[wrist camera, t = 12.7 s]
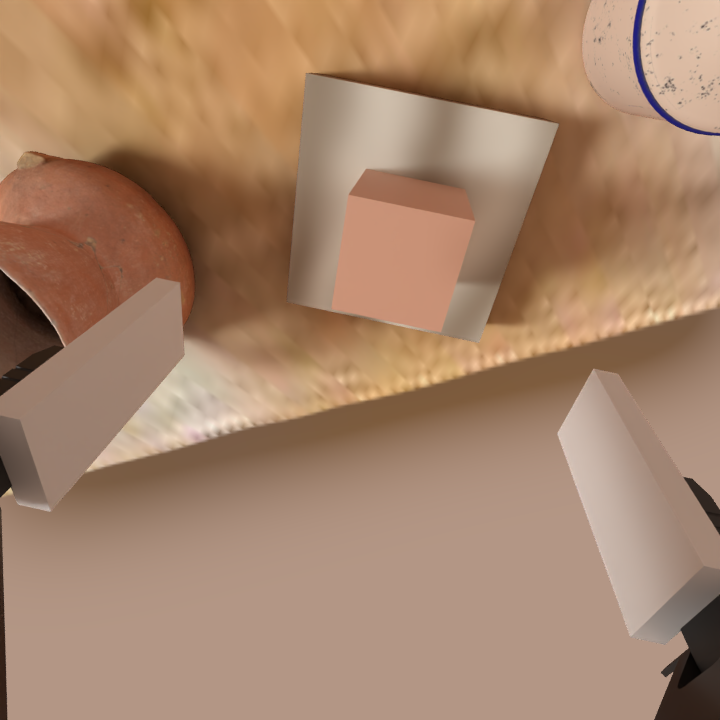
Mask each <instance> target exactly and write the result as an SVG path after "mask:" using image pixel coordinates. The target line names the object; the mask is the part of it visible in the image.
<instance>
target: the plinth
mask: <svg viewBox="0 0 720 720" xmlns="http://www.w3.org/2000/svg"><path fill="white" fill-rule="evenodd" d="M558 126H559V124H558V123H555V122H552V121H550V120H547V119H542V118H537V117H532V116H527V115H522V114H517V113H512V112H507V111H502V110H497V109H492V108H487V107H482V106H477V105H472V104H467V103H462V102H457V101H452V100H447V99H442V98H437V97H433V96H428V95H423V94H418V93H413V92H408V91H403V90H398V89H393V88H388V87H383V86H378V85H373V84H368V83H363V82H358V81H353V80H348V79H343V78H338V77H333V76H328V75H323V74H318V73H306V80H305V91H304V103H303V115H302V127H301V138H300V150H299V162H298V173H297V185H296V197H295V209H294V220H293V232H292V244H291V256H290V267H289V279H288V291H287V302H288V303H293V304H298V305H302V306H307V307H312V308H317V309H321V310H326V311H331V312H336V313H340V314H345V315H350V316H354V317H359V318H364V319H369V320H373V321H378V322H383V323H388V324H392V325H397V326H402V327H407V328H411V329H416V330H421V331H425V332H430V333H435V334H440V335H444V336H449V337H454V338H459V339H463V340H468V341H473V342H477V343H479V342H480V339H481V336H482V333H483V331H484V328H485V325H486V322H487V320H488V317H489V314H490V312H491V309H492V306H493V303H494V301H495V298H496V295H497V292H498V290H499V287H500V284H501V281H502V279H503V276H504V273H505V271H506V268H507V265H508V262H509V260H510V257H511V254H512V251H513V249H514V246H515V243H516V240H517V238H518V235H519V232H520V230H521V227H522V224H523V221H524V219H525V216H526V213H527V210H528V208H529V205H530V202H531V200H532V197H533V194H534V191H535V189H536V186H537V183H538V180H539V178H540V175H541V172H542V169H543V167H544V164H545V161H546V159H547V156H548V153H549V150H550V148H551V145H552V142H553V139H554V137H555V134H556V131H557V128H558ZM366 169H370V170H375V171H379V172H384V173H389V174H394V175H399V176H404V177H408V178H413V179H418V180H423V181H428V182H433V183H437V184H442V185H447V186H452V187H457V188H461V189H465V190H466V193H467V196H468V199H469V203H470V206H471V209H472V212H473V215H474V218H475V224H474V227H473V231H472V234H471V237H470V240H469V244H468V247H467V250H466V253H465V257H464V260H463V263H462V266H461V269H460V273H459V276H458V279H457V282H456V286H455V289H454V292H453V295H452V299H451V302H450V305H449V308H448V312H447V315H446V318H445V321H444V324H443V328H442V331H441V332H437V331H432V330H427V329H422V328H418V327H413V326H408V325H404V324H399V323H394V322H390V321H385V320H380V319H376V318H371V317H366V316H361V315H357V314H352V313H347V312H343V311H338V310H333V309H331V308H332V301H333V294H334V288H335V281H336V274H337V268H338V261H339V254H340V248H341V241H342V234H343V227H344V221H345V214H346V207H347V201H348V195H349V193H350V192H351V190H352V189H353V187H354V186H355V184H356V183H357V181H358V180H359V178H360V177H361V176H362V174H363V173H364V171H365V170H366Z"/></svg>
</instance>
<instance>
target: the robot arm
mask: <svg viewBox="0 0 720 720" xmlns="http://www.w3.org/2000/svg"><path fill="white" fill-rule="evenodd" d="M184 355H185V354H184V338H183V322H182V305H181V289H180V282H175V281H170V280H165V279H161V278H155V279H154V280H153V281H151V282H150V283H149V284H147V285H146V286H145V287H143V288H142V289H141V290H139V291H138V292H137V293H135V294H134V295H133V296H132V297H130V298H129V299H128V300H126V301H125V302H124V303H122V304H121V305H120V306H118V307H117V308H116V309H114V310H113V311H112V312H110V313H109V314H108V315H107V316H105V317H104V318H103V319H101V320H100V321H99V322H97V323H96V324H95V325H93V326H92V327H91V328H89V329H88V330H87V331H86V332H84V333H83V334H82V335H80V336H79V337H78V338H76V339H75V340H74V341H72V342H71V343H70V344H68V345H67V346H66V347H60V346H55V345H54V346H52V347H49V348H47V349H44V350H42V351H39V352H37V353H34V354H32V355H31V356H29V357H28V358H26V359H25V360H24V361H22V362H21V363H19V364H18V365H17V366H16V368H15V369H13V368H12V369H11V370H10V371H8V372H7V373H6V374H4V375H3V376H2V378H1V379H0V497H1V496H2V495H3V494H4V493H5V492H6V491H7V490H8V489H9V488H10V487H11V489H12V491H13V494H14V496H15V499H16V501H17V504H18V505H23V506H27V507H32V508H37V509H41V510H46V511H52V510H53V509H54V507H55V506H56V505H57V504H58V503H59V502H60V500H61V499H62V498H63V497H64V496H65V494H66V493H67V492H68V491H69V490H70V488H72V486H73V485H74V484H75V483H76V482H77V481H78V479H79V478H80V477H81V476H82V475H83V473H84V472H85V471H86V470H87V469H88V468H89V466H90V465H91V464H92V463H93V462H94V461H95V459H96V458H97V457H98V456H99V455H100V454H101V452H102V451H103V450H104V449H105V448H106V447H107V445H108V444H109V443H110V442H111V441H112V440H113V438H114V437H115V436H116V435H117V434H118V433H119V431H120V430H121V429H122V428H123V427H124V425H125V424H126V423H127V422H128V421H129V420H130V418H131V417H132V416H133V415H134V414H135V413H136V411H137V410H138V409H139V408H140V407H141V406H142V404H143V403H144V402H145V401H146V400H147V399H148V397H149V396H150V395H151V394H152V393H153V392H154V390H155V389H156V388H157V387H158V386H159V385H160V383H161V382H162V381H163V380H164V379H165V378H166V376H167V375H168V374H169V373H170V372H171V370H172V369H173V368H174V367H175V366H176V365H177V363H178V362H179V361H180V360H181V359H182V358H183V356H184ZM557 434H558V437H559V440H560V443H561V445H562V448H563V451H564V454H565V456H566V459H567V462H568V465H569V468H570V470H571V473H572V476H573V479H574V482H575V484H576V487H577V490H578V493H579V495H580V498H581V501H582V504H583V507H584V509H585V512H586V515H587V518H588V521H589V523H590V526H591V529H592V532H593V534H594V537H595V540H596V543H597V546H598V548H599V551H600V554H601V557H602V559H603V562H604V565H605V568H606V571H607V573H608V576H609V579H610V581H611V584H612V587H613V590H614V593H615V596H616V598H617V601H618V604H619V607H620V609H621V612H622V615H623V618H624V621H625V623H626V626H627V629H628V632H629V634H630V637H632V638H637V639H641V640H646V641H651V642H655V643H660V644H664V645H665V644H666V643H667V642H668V641H670V640H671V639H672V638H673V637H674V636H675V635H677V634H678V633H679V632H680V631H682V634H683V636H684V638H685V640H686V642H687V645H688V647H689V648H688V649H687V650H686V651H685V652H684V653H682V654H681V655H680V656H679V657H678V658H676V659H675V660H674V661H673V662H672V663H670V664H669V665H668V666H667V667H666V668H665V669H664V670H663V671H662V672H661V673H662V674H663V675H664V676H665V677H667V676H668V675H669V674H670V673H672V672H673V675H672V677H671V680H670V682H669V685H668V687H667V690H666V692H665V695H664V697H663V699H662V702H661V705H660V707H659V709H658V712H657V714H656V717H655V719H654V720H720V509H719V508H718V506H717V505H716V503H715V502H714V500H713V499H712V497H711V496H710V495H709V494H708V493H707V492H706V491H705V490H704V489H702V488H701V487H700V486H699V485H698V484H697V483H696V482H695V481H694V480H693V479H690V478H686V477H683V476H682V475H681V473H680V471H679V470H678V468H677V467H676V465H675V464H674V462H673V460H672V459H671V457H670V456H669V454H668V453H667V451H666V449H665V448H664V446H663V445H662V443H661V441H660V440H659V438H658V437H657V435H656V434H655V432H654V430H653V429H652V427H651V425H650V424H649V422H648V421H647V419H646V418H645V416H644V415H643V413H642V411H641V410H640V408H639V407H638V405H637V403H636V402H635V400H634V399H633V397H632V395H631V394H630V392H629V391H628V389H627V387H626V386H625V384H624V383H623V381H622V380H621V378H620V376H619V375H618V374H616V373H611V372H606V371H601V370H597V369H593V370H592V372H591V374H590V376H589V378H588V379H587V381H586V383H585V385H584V387H583V388H582V390H581V392H580V394H579V396H578V398H577V399H576V401H575V403H574V405H573V406H572V408H571V410H570V412H569V414H568V415H567V417H566V419H565V421H564V423H563V424H562V426H561V428H560V430H559V432H558V433H557ZM1 522H2V521H1V508H0V720H7V692H6V655H5V627H4V626H5V623H4V592H3V591H4V588H3V556H2V555H3V554H2V523H1Z"/></svg>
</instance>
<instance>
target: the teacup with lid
mask: <svg viewBox="0 0 720 720" xmlns="http://www.w3.org/2000/svg"><path fill="white" fill-rule="evenodd" d="M582 54H583V63H584V67H585V71H586V74H587V77H588V79H589V82H590V84H591V86H592V87H593V89H594V90H595V92H596V93H597V94H598V96H599V97H600V98H601V99H602V100H603V101H604V102H606V103H607V104H608V105H610V106H611V107H613V108H615V109H617V110H619V111H621V112H624V113H628V114H632V115H637V116H643V117H648V118H653V119H659V120H664V121H668V122H670V123H671V124H673V125H675V126H677V127H679V128H681V129H684V130H686V131H690V132H693V133H697V134H703V135H715V136H720V0H592V1H591V4H590V6H589V10H588V13H587V16H586V20H585V24H584V31H583V40H582Z"/></svg>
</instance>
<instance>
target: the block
mask: <svg viewBox="0 0 720 720" xmlns="http://www.w3.org/2000/svg"><path fill="white" fill-rule="evenodd" d="M474 224H475V218H474V215H473V212H472V209H471V206H470V203H469V199H468V196H467V193H466V190H465V189H461V188H457V187H452V186H447V185H442V184H437V183H433V182H428V181H423V180H418V179H413V178H408V177H404V176H399V175H394V174H389V173H384V172H379V171H375V170H370V169H366V170H365V171H364V173H363V174H362V176H361V177H360V178H359V180H358V181H357V183H356V184H355V186H354V187H353V189H352V190H351V192H350V193H349V195H348V201H347V207H346V214H345V221H344V227H343V234H342V241H341V248H340V254H339V261H338V268H337V274H336V281H335V288H334V294H333V301H332V308H331V309H333V310H338V311H343V312H347V313H352V314H357V315H361V316H366V317H371V318H376V319H380V320H385V321H390V322H394V323H399V324H404V325H408V326H413V327H418V328H422V329H427V330H432V331H437V332H441V331H442V328H443V324H444V321H445V318H446V315H447V312H448V308H449V305H450V302H451V299H452V295H453V292H454V289H455V286H456V282H457V279H458V276H459V273H460V269H461V266H462V263H463V260H464V257H465V253H466V250H467V247H468V244H469V240H470V237H471V234H472V231H473V227H474Z"/></svg>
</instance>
